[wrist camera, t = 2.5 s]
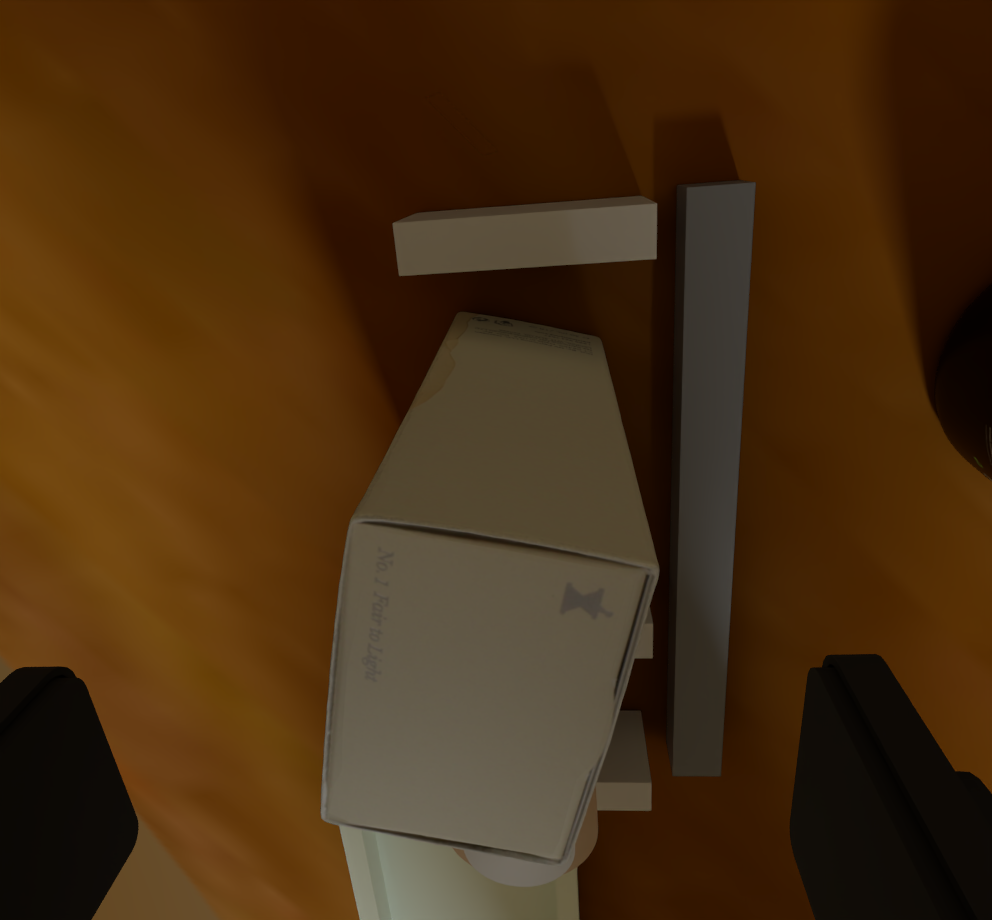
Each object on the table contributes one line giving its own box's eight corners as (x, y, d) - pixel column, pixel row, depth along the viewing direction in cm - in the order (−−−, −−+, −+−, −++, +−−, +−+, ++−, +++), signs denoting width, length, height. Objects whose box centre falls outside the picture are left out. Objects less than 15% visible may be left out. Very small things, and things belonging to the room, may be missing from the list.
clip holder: (740, 180, 19) (773, 184, 16) (711, 740, 26) (731, 816, 23) (416, 204, 19) (390, 214, 17) (476, 740, 27) (466, 813, 24)
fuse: (586, 604, 24) (597, 789, 17) (589, 699, 26) (601, 904, 19) (467, 606, 24) (431, 787, 17) (477, 700, 26) (447, 901, 19)
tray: (572, 759, 27) (573, 799, 25) (581, 948, 31) (582, 993, 29) (346, 759, 28) (333, 797, 26) (383, 942, 32) (374, 985, 30)
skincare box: (456, 306, 20) (336, 490, 9) (610, 336, 20) (673, 555, 9) (427, 501, 23) (303, 829, 12) (563, 527, 23) (569, 881, 12)
